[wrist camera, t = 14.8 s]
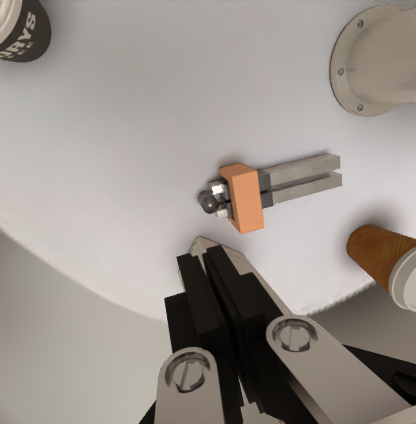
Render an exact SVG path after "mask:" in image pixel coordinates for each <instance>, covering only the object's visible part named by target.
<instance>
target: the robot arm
mask: <svg viewBox="0 0 416 424" xmlns="http://www.w3.org/2000/svg"><path fill="white" fill-rule="evenodd" d="M331 82H332V87H333V90H334V93H335V96H336V98H337V99H338V101H339V103H340V104H341V105H342V106H343V107H344V108H345V109H346V110H348V111H349V112H351V113H353V114H355V115H358V116H377V115H381V114H384V113H386V112H388V111H390V110H391V109H393V108H394V107H396V106H397V105H398V104H399V103H416V7H415V8H413V9H410V10H407V11H403V10H402V9H400V8H398V7H394V6H390V5H384V6H378V7H374V8H371V9H369V10H367V11H365V12H362V13H361V14H360V15H358V16H357V17H355V18H354V19H353V20H352V21H351V22H350V23H349V24H348V25H347V26H346V28H345V29H344V31H343V32H342V33H341V35H340V37H339V39H338V41H337V43H336V46H335V49H334V52H333V55H332V61H331ZM202 258H203V263H204V267H205V271H204V269H203V267H202V264H201V262H200V260H199V257H198V255H196V256H192V254H191V253H188V254H185V255H181V256H178V257H177V261H178V265H179V269H180V273H181V276H182V280H183V284H184V288H185V292H183V293H180V294H176V295H173V296H170V297H166V298H164V300H165V307H166V313H167V320H168V326H169V333H170V340H171V345H172V353H173V354H172V355H171V356H170V357H169V358H168V359H167V360H166V361H165V362H164V364H163V366H162V367H161V369H160V372H159V376H158V386H157V398H156V401H155V402H154V403H153V405H152V406H151V407H150V409H149V410H148V412H147V413H146V414H145V416H144V417H143V418H142V420H141V421H140V423H139V424H243V418H242V414H241V409H240V407H242V406H244V402H243V398H242V392H241V387H240V383H239V379H240V381H241V384H242V386H243V389H244V392H245V394H246V397H247V399H248V402H249V403H253V402H256V404H257V406H258V409H259V411H260V414H261V413H264V412H265V413H266V414H268V415H270V416H272V417H274V418H277V419H279V423H280V424H416V364H414V363H410V362H407V361H403V360H399V359H396V358H391V357H388V356H384V355H381V354H377V353H373V352H370V351H366V350H362V349H359V348H355V347H351V346H347V345H343V344H340V343H339V342H338V341H337V340H336V339H335V338H333V337H332V336H331V335H330V334H329V333H328V332H327V331H326V330H325V329H323V328H322V327H321V326H320V325H319V324H318V323H316V322H315V321H313V320H312V319H310V318H308V317H305V316H302V315H295V314H291V315H284V314H283V313H282V311H281V310H280V309H279V307H278V306H277V305H276V303H275V302H274V300H273V299H272V298H271V296H270V295H269V294H268V292H267V291H266V289H265V288H264V287H263V285H262V284H261V283H260V281H259V280H258V278H257V277H256V276H255V274H254V273H253V272H249V273H246V274H242V275H240V274H239V272H238V271H237V269H236V268H235V266H234V264H233V263H232V261H231V260H230V258H229V256H228V255H227V253H226V252H225V250H224V249H223V247H222V245H221V244H220V245H217V246H213V247H209V248H206V253H203V254H202ZM205 272H206V274H205ZM238 376H239V378H238Z"/></svg>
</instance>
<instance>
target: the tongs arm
mask: <svg viewBox="0 0 416 424" xmlns="http://www.w3.org/2000/svg"><path fill="white" fill-rule="evenodd" d="M339 186H342V174H340V173H336V172H333V171H327V172H323V173H319V174H316V175H312V176H308V177H304V178H300V179H296V180H292V181H288V182H285V183H281V184H277V185H273V186H271V187H272V188H271V189H267V190H263V191H260V198H261V206H262V209H263V208H267V207H271V206H274V205H273V204H276V203H280V202H283V201H287V200H291V199H294V198H298V197H302V196H306V195H309V194H313V193H317V192H320V191H324V190H328V189H331V188H335V187H339ZM220 198H221V203H222V204H221V205H219V208H218V210H217V211H216V212H214V214H215V215H216V216H217V218H218V219H219V218H222V217H226V216H228V217H229V218H230V217H234V214H233V208H232V202H231V199H228V200H226V199H225V198H224V197H220Z"/></svg>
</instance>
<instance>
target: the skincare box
mask: <svg viewBox="0 0 416 424" xmlns="http://www.w3.org/2000/svg"><path fill="white" fill-rule="evenodd" d="M217 245H220V244H217V243H215V242H212V241H210V240H207V239H205V238H202V237H200V236H198V237H197V239H196V241H195V242H194V244H193V246H192V248H191V250H190V252H189V253H191V254H192V256H196V255H198V257H199V260H200V262H201V264H202V267H203V269H204V271H205V267H204V263H203V258H202V254H203V253H206V248H209V247H213V246H217ZM222 247H223V249H224V250H225V252H226V253H227V255H228V256H229V258H230V260H231V261H232V263H233V264H234V266H235V268H236V269H237V271H238V272H239V274H240V275H242V274H246V273H249V272H253V273H254V274H255V276H256V277H257V278H258V280H259V281H260V283H261V284H262V285H263V287H264V288H265V289H266V291H267V292H268V294H269V295H270V296H271V298H272V299H273V300H274V302H275V303H276V305H277V306H278V307H279V309H280V310H281V311H282V313H283V314H284V315H291V314H293V313H292V312H291V311H290V310H289V308H288V307H287V306H286V305H285V304H284V303H283V301H282V300H281V299H280V298H279V297H278V295H277V294H276V293H275V292H274V291H273V289H272V288H271V287H270V286H269V285H268V283H267V282H266V281H265V280H264V279H263V277H262V276H261V275H260V274H259V273H258V271H257V270H256V269H255V268H254V267H253V265H252V264H251V263H250V262H249V261H248V259H247V258H246V257H245V256H244V255H243V254H241V253H239V252H236V251H234V250H232V249H229V248H227V247H224V246H222ZM178 274H179V277H180V280H181V283H182V286H183V289H184V292H185V288H184V284H183V280H182V276H181V273H180V270H179V272H178ZM205 274H206V272H205Z"/></svg>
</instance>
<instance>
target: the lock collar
mask: <svg viewBox="0 0 416 424" xmlns="http://www.w3.org/2000/svg"><path fill="white" fill-rule="evenodd" d="M219 170H220V175H221V176H223V177H224V178H225V179H226V180H228V184H229V190H230V196H231V202H232V208H233V214H234V217H230V218H229V217H228V219H229V221H230V222H231V223H232V224H233V225H234V227H235V228H236V229H237V230H238V231H239V232H240V234H244V233H248V232H251V231H255V230H258V229H262V228H264V221H263V214H262V206H261V198H260V190H259V182H258V174H257V170H255V169H253V168H251V167H249V166H247V165H245V164H243V163H238V164H234V165H229V166H225V167H221V168H219Z"/></svg>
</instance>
